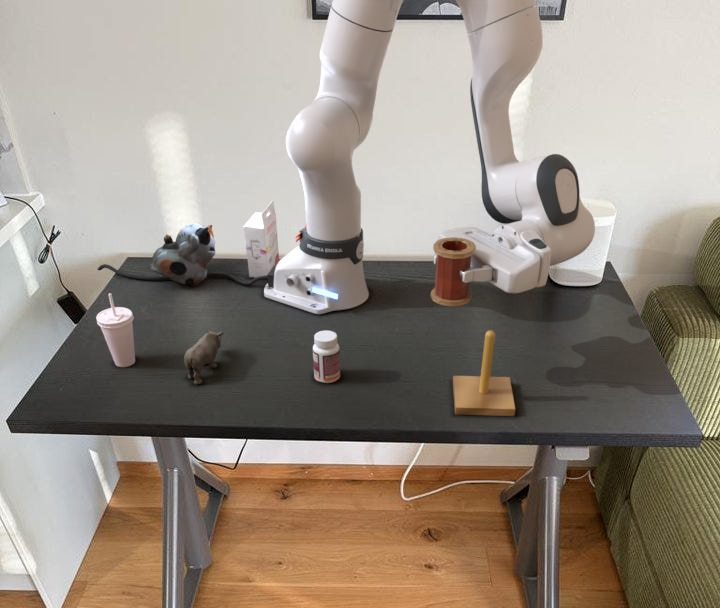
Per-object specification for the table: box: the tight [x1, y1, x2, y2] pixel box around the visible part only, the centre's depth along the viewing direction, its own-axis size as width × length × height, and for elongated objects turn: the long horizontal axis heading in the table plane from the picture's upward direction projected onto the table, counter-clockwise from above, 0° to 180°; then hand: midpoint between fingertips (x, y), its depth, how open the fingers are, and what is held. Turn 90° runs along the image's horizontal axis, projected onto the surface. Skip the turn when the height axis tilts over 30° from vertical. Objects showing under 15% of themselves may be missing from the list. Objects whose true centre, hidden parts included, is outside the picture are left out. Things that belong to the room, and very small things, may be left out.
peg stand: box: [452, 329, 516, 417], centre depth 128 cm, size 10×10×13 cm
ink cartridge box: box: [242, 200, 280, 279], centre depth 168 cm, size 9×5×15 cm, turn 168°
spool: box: [430, 237, 476, 307], centre depth 125 cm, size 7×7×9 cm
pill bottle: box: [312, 330, 341, 384], centre depth 136 cm, size 5×5×8 cm
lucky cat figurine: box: [147, 223, 217, 287], centre depth 167 cm, size 15×12×14 cm
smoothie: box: [95, 292, 136, 368], centre depth 138 cm, size 6×6×14 cm
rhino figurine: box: [183, 327, 224, 385], centre depth 139 cm, size 4×14×6 cm, turn 164°
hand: (448, 269), depth 124 cm, fingers closed on spool, 5 cm apart
